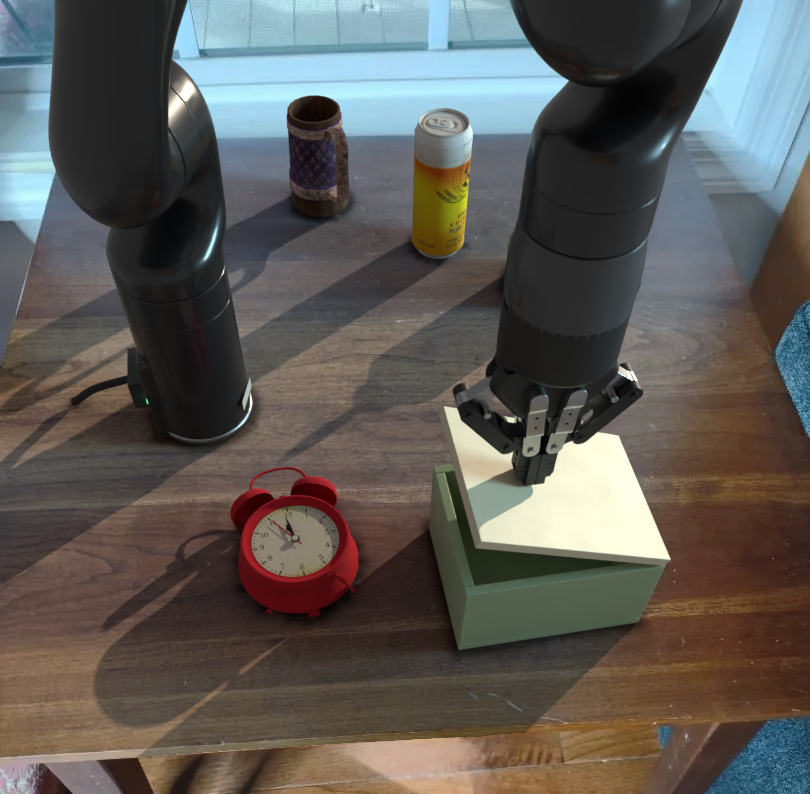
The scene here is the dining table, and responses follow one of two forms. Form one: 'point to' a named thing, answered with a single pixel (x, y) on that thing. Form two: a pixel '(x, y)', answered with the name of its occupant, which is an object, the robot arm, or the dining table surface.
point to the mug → (317, 156)
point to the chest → (525, 582)
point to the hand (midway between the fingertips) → (529, 475)
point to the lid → (555, 500)
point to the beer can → (441, 181)
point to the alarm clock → (294, 546)
